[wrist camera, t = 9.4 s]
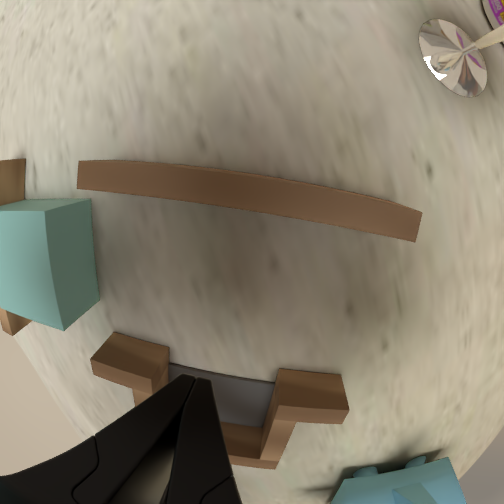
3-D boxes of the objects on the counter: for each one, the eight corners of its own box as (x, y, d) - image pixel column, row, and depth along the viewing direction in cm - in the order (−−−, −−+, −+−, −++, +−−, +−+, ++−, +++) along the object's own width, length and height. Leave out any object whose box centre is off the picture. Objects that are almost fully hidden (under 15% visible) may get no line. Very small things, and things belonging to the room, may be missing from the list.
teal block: (101, 298, 16) (64, 330, 12) (37, 284, 16) (0, 308, 12) (92, 198, 14) (44, 211, 10) (27, 199, 14) (-17, 210, 10)
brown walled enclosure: (310, 439, 17) (312, 471, 15) (42, 367, 18) (23, 387, 15) (394, 202, 12) (422, 212, 10) (15, 159, 13) (-17, 162, 10)
